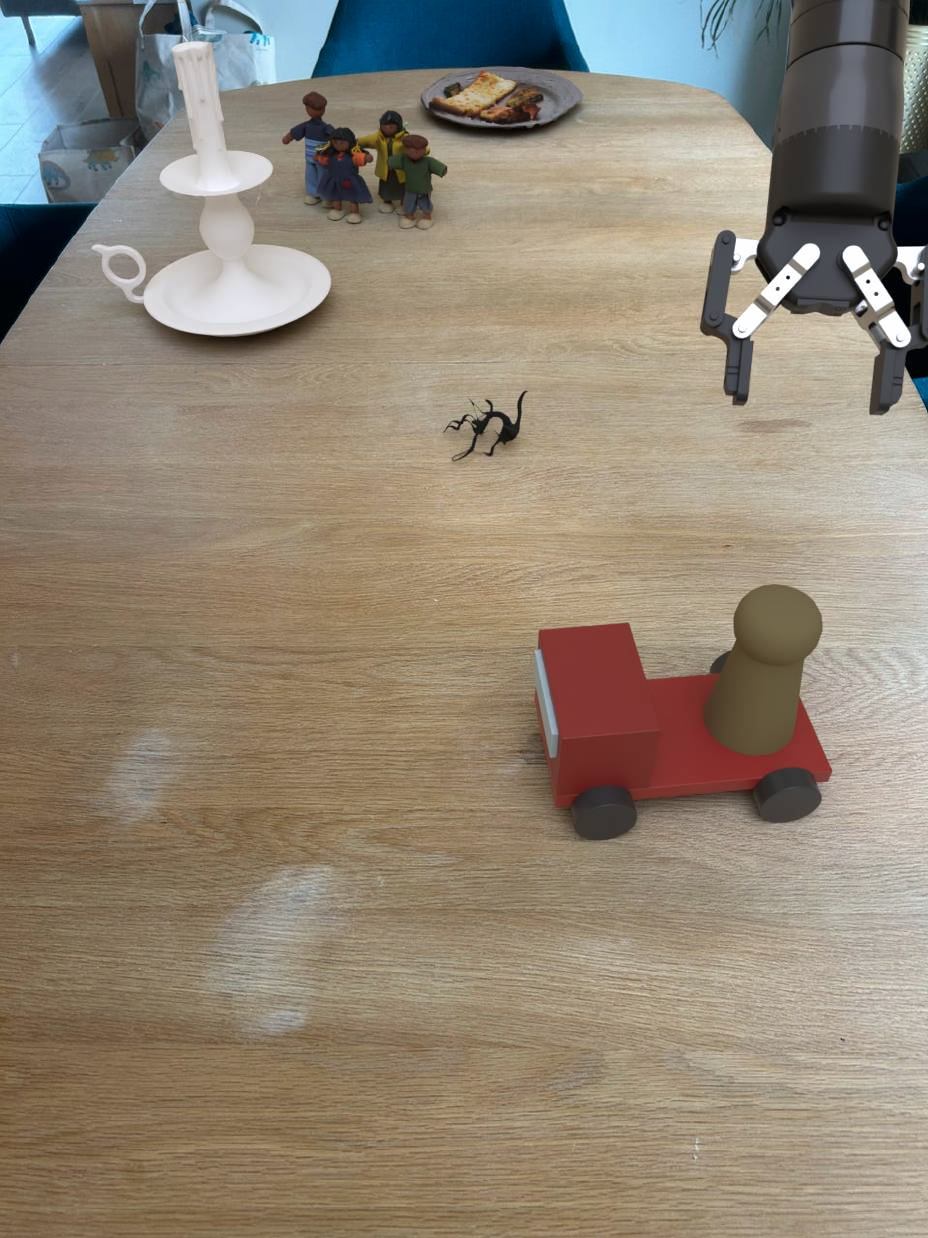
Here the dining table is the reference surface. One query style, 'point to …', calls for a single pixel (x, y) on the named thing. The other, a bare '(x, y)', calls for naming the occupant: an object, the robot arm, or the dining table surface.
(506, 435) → the creature
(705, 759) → the toy truck
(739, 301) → the dining table surface
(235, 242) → the candlestick
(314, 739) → the dining table surface
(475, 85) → the food plate
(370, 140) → the doll family
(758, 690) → the brown peg doll
